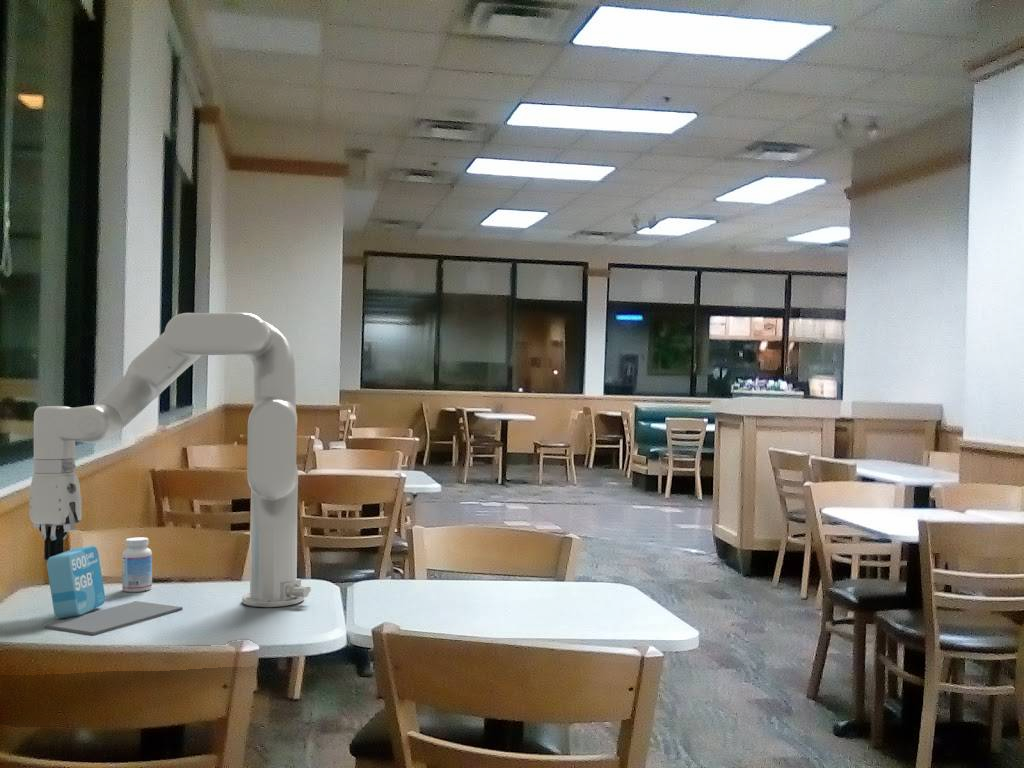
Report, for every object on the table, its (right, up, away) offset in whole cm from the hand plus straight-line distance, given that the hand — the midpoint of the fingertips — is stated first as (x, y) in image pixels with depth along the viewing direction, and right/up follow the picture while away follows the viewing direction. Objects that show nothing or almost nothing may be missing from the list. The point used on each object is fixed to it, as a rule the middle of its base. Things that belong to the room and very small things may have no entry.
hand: (53, 558), depth 194 cm
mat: (+15, -10, -7) cm, 20 cm away
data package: (+7, -10, -3) cm, 13 cm away
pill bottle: (+9, -10, +19) cm, 23 cm away
